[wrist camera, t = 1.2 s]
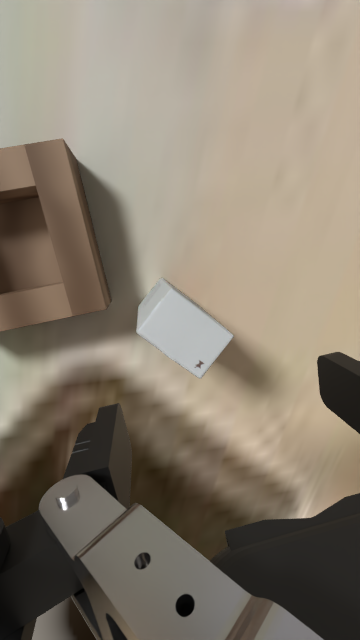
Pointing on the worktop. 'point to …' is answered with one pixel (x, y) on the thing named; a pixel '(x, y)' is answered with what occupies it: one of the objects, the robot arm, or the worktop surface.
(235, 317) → the worktop surface
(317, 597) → the robot arm
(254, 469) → the worktop surface
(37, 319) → the holder
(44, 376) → the worktop surface
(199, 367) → the skincare box
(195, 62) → the worktop surface
